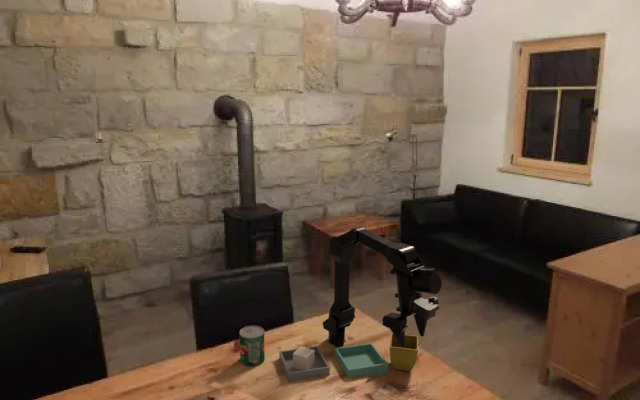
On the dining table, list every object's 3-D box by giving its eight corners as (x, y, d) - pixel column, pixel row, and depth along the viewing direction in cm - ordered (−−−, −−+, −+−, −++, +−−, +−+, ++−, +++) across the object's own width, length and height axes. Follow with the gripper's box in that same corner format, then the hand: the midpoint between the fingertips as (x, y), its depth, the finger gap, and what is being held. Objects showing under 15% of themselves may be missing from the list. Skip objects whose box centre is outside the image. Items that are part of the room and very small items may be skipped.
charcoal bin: (279, 361, 153) (279, 351, 152) (317, 355, 156) (317, 345, 156) (288, 384, 141) (288, 373, 140) (329, 377, 144) (329, 367, 144)
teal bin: (334, 357, 155) (334, 348, 154) (371, 352, 159) (371, 342, 158) (348, 380, 143) (348, 370, 142) (387, 373, 147) (387, 363, 146)
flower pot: (416, 376, 146) (418, 349, 144) (388, 372, 147) (389, 346, 146) (416, 360, 154) (418, 335, 152) (389, 357, 156) (391, 332, 154)
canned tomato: (269, 362, 152) (269, 331, 150) (250, 372, 146) (250, 340, 144) (254, 353, 157) (253, 323, 155) (235, 362, 152) (234, 331, 149)
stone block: (292, 367, 147) (292, 353, 146) (300, 360, 152) (301, 346, 151) (306, 372, 145) (306, 357, 144) (314, 364, 149) (314, 350, 148)
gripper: (410, 302, 124) (416, 359, 125) (449, 284, 137) (454, 336, 138) (378, 296, 133) (384, 350, 134) (417, 280, 145) (422, 329, 146)
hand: (412, 341), depth 138 cm, fingers open, 9 cm apart
